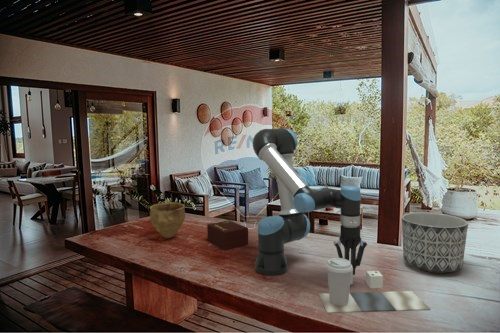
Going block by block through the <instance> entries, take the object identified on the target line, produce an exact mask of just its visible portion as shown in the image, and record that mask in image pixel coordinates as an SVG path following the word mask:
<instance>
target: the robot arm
mask: <svg viewBox="0 0 500 333" xmlns="http://www.w3.org/2000/svg"><path fill="white" fill-rule="evenodd" d="M297 146H298V137H297V135H296V134H295V132H294V131H292V129H289V128H285V127H284V128H263V129H260V130H258V132H256V133H255V134H254V136H253V139H252V149H253V152H254V153H255V156H257V158H258V159H259V160H260V161H264V163H265V164H266V165H267V167H268V168H269V169H270V170H271V171H272V172H273V174H274V176H275V177H276V181H277V184H276V185H277V190H278V195H279V203H280V211H279V213H278V215H272V216H271V215H270V216H265V217H263V218H261V219H260V220H259V221H258V225H257V238H258V239H257V240H258V253H257V256H256V259H255V263H254V270H255V272H257V273H258V274H261V275H265V276H280V275H283V274H285V273H287V272H288V270H289V263H288V260H287V257H286V255H285V244H288V243H292V242H295V241H300V240H302V239H305V238H306V237H307V236H308V234H309V233H310V230H311V222H310V220H309V217H308V216H307V215H306V214H304V213H310V212H314V211H317V210H323V209H326V208H335V209H340V233H339V234H340V236H339V238H338V240H337V241H333V245H334V247H335V248H336V252H337V258H343V259H346V260H349V261H350V263H351V265H352V267H353V270H352V271H351V280H350V285H353V284H354V283H353V282H354V276H356V268H357V267H359V266H361V264H362V263H361V262H362V259H363V256H364V251H365V248H366V247H367V246H368V243H367V242H366V241H365V240H362V237H361V204H362V203H361V201H362V196H361V194H362V193H361V188H360V187H359V186H356V185H343V186H341V187H340V189H336V188H330V187H319V188H318V189H317V190H312V189H311V187H310V186H309V185H308V184H307V182H305V181H304V180H303V178H302V177H301V176H300V175H299V174H298V173H297V171H296V170H295V169H294V165H293V157H294V156H295V150H297ZM341 244H342V245H341ZM341 246H343V248H344V255H343V252H342V249H341ZM357 247H358V250H357ZM343 256H344V257H343Z"/></svg>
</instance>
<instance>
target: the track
mask: <svg viewBox="0 0 500 333" xmlns="http://www.w3.org/2000/svg"><path fill="white" fill-rule="evenodd" d="M318 296H319V299H320V301H321V303H322V305H323V307H324V310H325V312H326V313H327V314H330V313H331V314H332V313H334V314H335V313H365V312H366V313H368V312H374V313H375V312H399V311H401V312H403V311H430V310H431V308H430V307H429V306H428V305H427V304H426V303H425V302H424V301H423V300H422V299H421V298H420V297H419V296H417V294H416V293H414V292H413V291H412V290H403V291H401V290H400V291H399V290H398V291H397V290H396V291H367V292H366V291H365V292H363V291H361V292H359V291H358V292H349V300H348V304H347V305H346V306H336V305H333V304H331V303H330V298H329V292H328V293H326V292H325V293H318Z"/></svg>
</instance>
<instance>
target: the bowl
mask: <svg viewBox="0 0 500 333" xmlns="http://www.w3.org/2000/svg"><path fill="white" fill-rule="evenodd" d="M149 210H150V211H149V212H150V213H149V220H150V223H151V225H152V227H153V229H155V230H156V231H157V232H158V233H159V235H161V237H164V238H165V239H171V238H172V237H174V236H175V235H176V234H177V233H178V231H179V230H180V228H181V227H182V226H183V224H184V221H185V219H186V218H185V217H186V210H185V204H183V203H180V202H175V201H174V202H162V203H155V204H153V205H151V206H150V207H149Z"/></svg>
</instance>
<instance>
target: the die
mask: <svg viewBox="0 0 500 333" xmlns="http://www.w3.org/2000/svg"><path fill="white" fill-rule="evenodd" d="M365 284H366V285H367V286H368V288H369V289H384V275H383V274H382V273H381V272H380V271H379V270H365Z"/></svg>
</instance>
